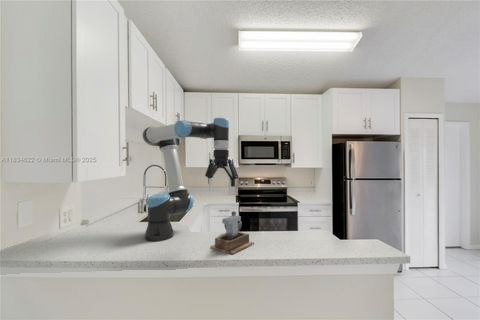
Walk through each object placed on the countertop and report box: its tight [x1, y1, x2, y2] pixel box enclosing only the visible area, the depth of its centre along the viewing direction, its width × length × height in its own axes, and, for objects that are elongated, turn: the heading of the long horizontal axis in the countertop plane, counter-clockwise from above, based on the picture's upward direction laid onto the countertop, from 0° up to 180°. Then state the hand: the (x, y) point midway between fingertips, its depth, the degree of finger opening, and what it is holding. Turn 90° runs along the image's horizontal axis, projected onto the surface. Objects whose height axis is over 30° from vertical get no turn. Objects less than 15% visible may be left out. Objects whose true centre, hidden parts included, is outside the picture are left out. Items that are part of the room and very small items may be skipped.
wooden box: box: [210, 231, 255, 255], centre depth 116 cm, size 14×16×5 cm
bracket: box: [221, 215, 242, 241], centre depth 116 cm, size 4×9×13 cm, turn 142°
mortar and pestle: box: [223, 211, 243, 232], centre depth 136 cm, size 11×9×12 cm
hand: (221, 192), depth 120 cm, fingers open, 13 cm apart
